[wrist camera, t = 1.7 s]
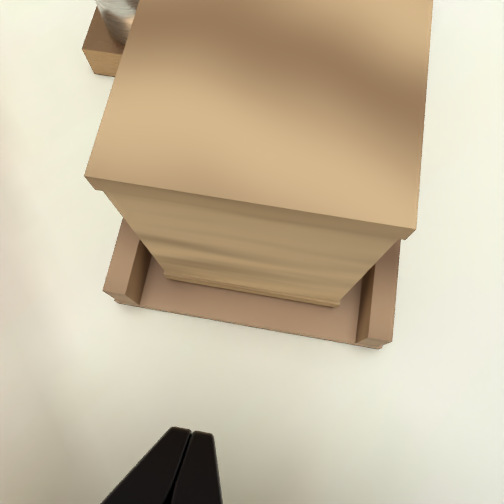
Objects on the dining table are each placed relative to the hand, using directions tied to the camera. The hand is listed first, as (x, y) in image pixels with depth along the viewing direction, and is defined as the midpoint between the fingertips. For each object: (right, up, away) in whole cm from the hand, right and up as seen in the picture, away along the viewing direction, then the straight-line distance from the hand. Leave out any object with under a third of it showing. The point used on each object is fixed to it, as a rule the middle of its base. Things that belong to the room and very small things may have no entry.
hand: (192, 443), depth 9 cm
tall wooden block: (+2, +5, +14) cm, 15 cm away
